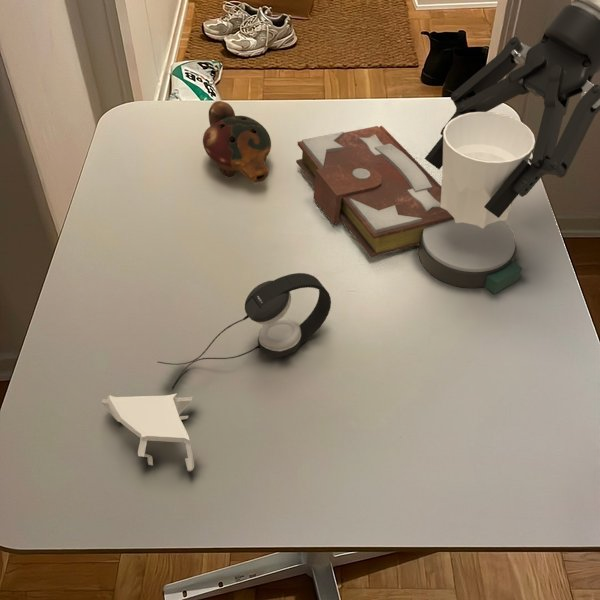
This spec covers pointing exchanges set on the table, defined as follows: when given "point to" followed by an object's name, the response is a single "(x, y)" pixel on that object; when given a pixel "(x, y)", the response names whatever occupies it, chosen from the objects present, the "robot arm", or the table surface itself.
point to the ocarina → (236, 143)
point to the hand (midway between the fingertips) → (460, 187)
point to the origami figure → (152, 420)
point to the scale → (470, 254)
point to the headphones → (280, 315)
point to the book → (372, 188)
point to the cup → (480, 163)
